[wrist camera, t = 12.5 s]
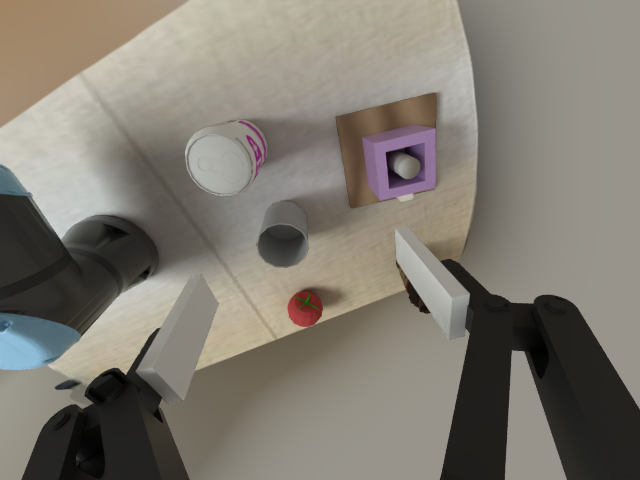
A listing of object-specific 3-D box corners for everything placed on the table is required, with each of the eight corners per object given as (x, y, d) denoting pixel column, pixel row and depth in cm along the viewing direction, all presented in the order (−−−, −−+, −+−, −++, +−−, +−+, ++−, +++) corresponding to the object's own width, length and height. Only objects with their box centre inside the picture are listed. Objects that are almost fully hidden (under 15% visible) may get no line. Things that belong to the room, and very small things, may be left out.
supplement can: (269, 123, 40) (254, 133, 27) (266, 173, 44) (253, 204, 31) (217, 114, 39) (175, 121, 26) (219, 167, 43) (184, 196, 30)
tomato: (305, 339, 53) (310, 320, 49) (278, 318, 56) (281, 297, 51) (326, 316, 59) (333, 296, 54) (301, 297, 62) (305, 277, 57)
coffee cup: (389, 277, 58) (411, 320, 46) (389, 247, 53) (413, 286, 42) (426, 271, 57) (457, 313, 46) (429, 241, 53) (464, 278, 42)
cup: (314, 227, 50) (317, 253, 41) (280, 246, 51) (277, 275, 43) (291, 192, 46) (289, 214, 37) (255, 214, 47) (245, 239, 39)
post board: (350, 206, 48) (361, 229, 39) (335, 116, 40) (345, 121, 31) (431, 187, 47) (462, 207, 38) (432, 92, 39) (471, 90, 31)
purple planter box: (362, 137, 41) (373, 143, 34) (412, 124, 40) (435, 128, 33) (369, 192, 45) (381, 207, 38) (415, 181, 45) (435, 195, 38)
